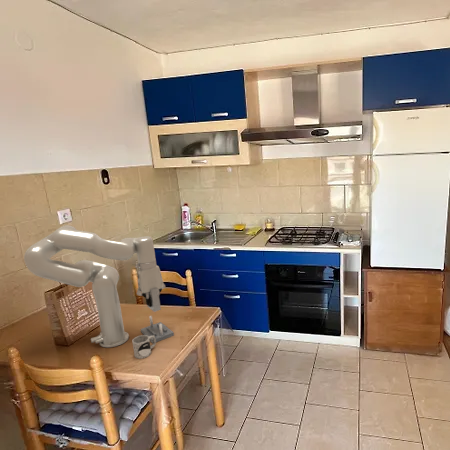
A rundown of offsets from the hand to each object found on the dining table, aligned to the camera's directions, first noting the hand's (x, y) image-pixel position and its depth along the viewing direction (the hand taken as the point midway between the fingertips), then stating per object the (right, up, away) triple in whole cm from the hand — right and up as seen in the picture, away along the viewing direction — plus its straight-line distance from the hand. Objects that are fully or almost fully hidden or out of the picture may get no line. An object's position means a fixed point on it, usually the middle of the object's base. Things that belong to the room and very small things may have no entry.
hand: (153, 304), depth 161 cm
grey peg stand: (+1, -14, +3) cm, 14 cm away
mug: (0, -17, -12) cm, 21 cm away
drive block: (0, -2, 0) cm, 2 cm away
